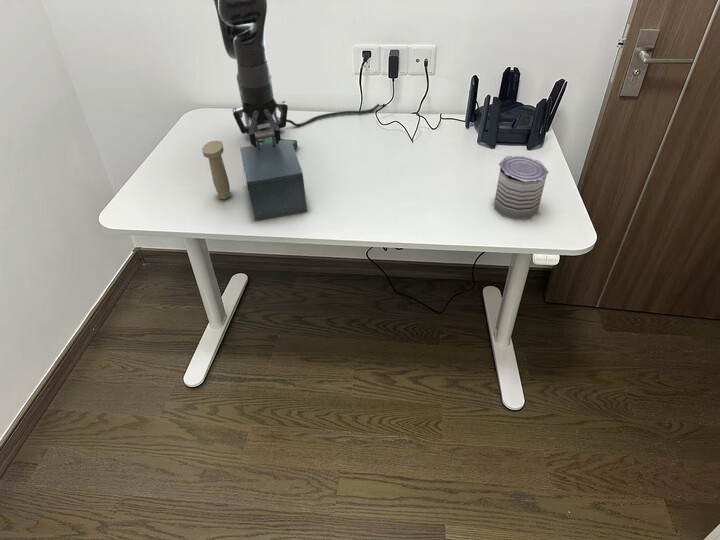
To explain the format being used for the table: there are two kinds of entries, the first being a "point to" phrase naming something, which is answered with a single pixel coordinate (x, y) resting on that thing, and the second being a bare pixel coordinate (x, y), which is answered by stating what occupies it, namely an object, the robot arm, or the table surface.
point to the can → (519, 187)
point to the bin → (278, 198)
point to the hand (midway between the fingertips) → (266, 143)
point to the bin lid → (270, 160)
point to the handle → (217, 167)
